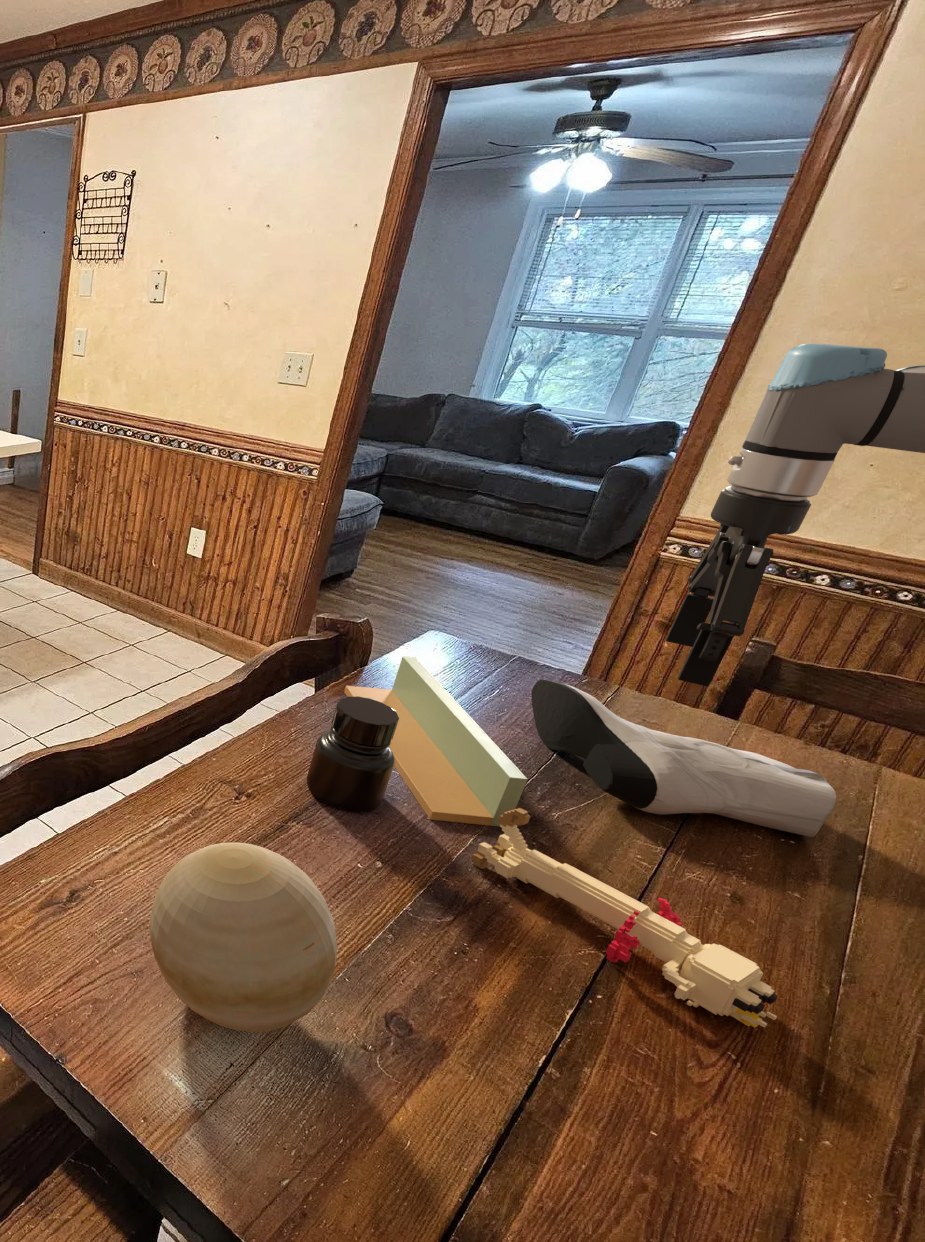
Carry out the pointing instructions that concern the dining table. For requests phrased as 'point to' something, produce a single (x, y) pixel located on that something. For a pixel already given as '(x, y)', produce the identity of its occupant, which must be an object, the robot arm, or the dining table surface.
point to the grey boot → (678, 767)
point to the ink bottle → (354, 755)
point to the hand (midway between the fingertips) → (685, 662)
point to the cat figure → (638, 929)
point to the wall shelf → (445, 751)
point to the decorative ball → (243, 937)
